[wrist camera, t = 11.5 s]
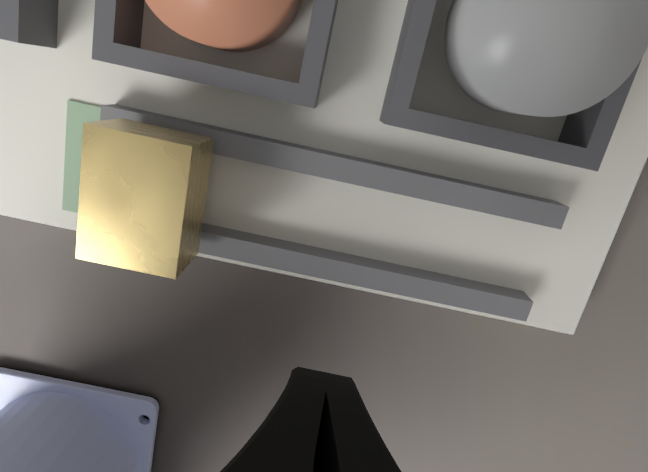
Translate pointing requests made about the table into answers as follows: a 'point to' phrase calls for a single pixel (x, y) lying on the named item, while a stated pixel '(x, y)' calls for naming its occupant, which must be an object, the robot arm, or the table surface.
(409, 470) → the table surface
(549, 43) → the grey button
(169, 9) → the terracotta button
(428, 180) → the panel
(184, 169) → the brass slider
